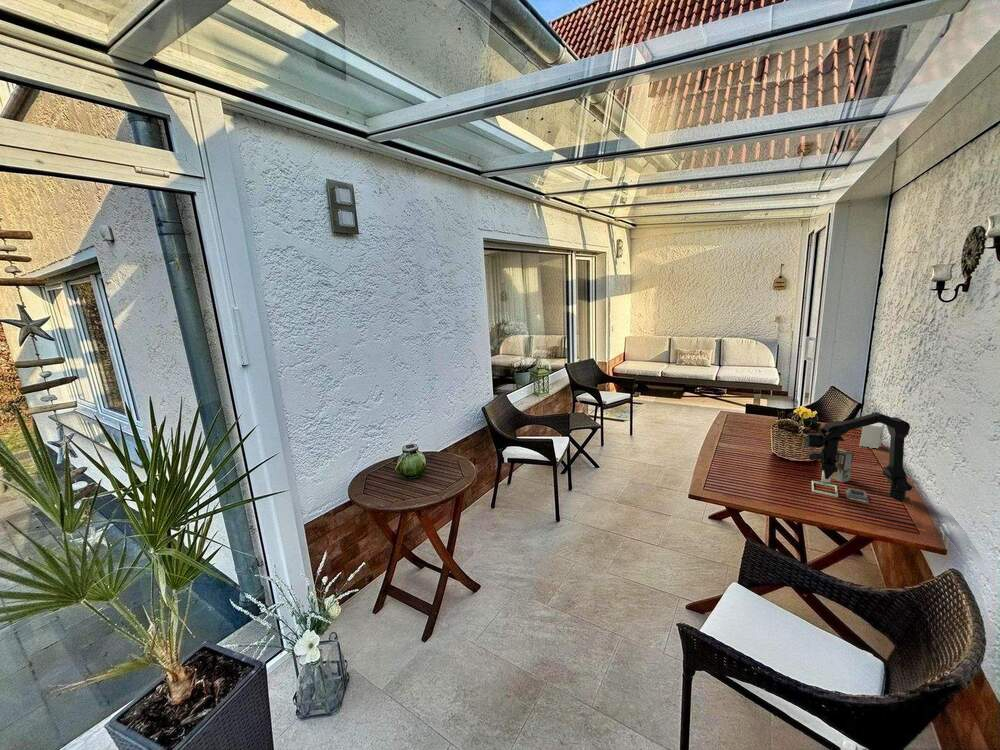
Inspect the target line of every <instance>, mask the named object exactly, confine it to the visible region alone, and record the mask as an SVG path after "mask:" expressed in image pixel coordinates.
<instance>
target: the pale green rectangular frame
mask: <svg viewBox="0 0 1000 750" xmlns="http://www.w3.org/2000/svg"><path fill="white" fill-rule="evenodd" d="M815 484H816V485H821V486H826V487H831V488H834V491H835V492H834V493H830V492H826V491H821V490H817V489H815V486H814V485H815ZM838 491H839V490H838V487H837V484H836V485H835V484H831V483H830V484H824V483H822V482H821V481H815V480H811V492H812V493H815V494H821V495H824V496H829V497H835V498H839V492H838Z"/></svg>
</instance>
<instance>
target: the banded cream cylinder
mask: <svg viewBox="0 0 1000 750" xmlns="http://www.w3.org/2000/svg"><path fill="white" fill-rule="evenodd" d="M821 470H822V469H821ZM831 479H832V478H831V476H830V477H829V479H825V473H824V470H822V473H821V479H820V482H822V483H824V484H831Z"/></svg>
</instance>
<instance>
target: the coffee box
mask: <svg viewBox="0 0 1000 750" xmlns="http://www.w3.org/2000/svg"><path fill="white" fill-rule="evenodd" d="M854 454H855V453H854V452H851V451H849V450H845V449H843V448H840V447H838V455H837V463H835V464H836V465H837V466H838V472H834V473H833V474H832V475H831V479H833V480H835V481H837V482H840V483H845V482H846V483H847V482H849V481H850V480H851V475H852V473H851V472H852V466H853V460H854Z"/></svg>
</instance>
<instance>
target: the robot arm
mask: <svg viewBox="0 0 1000 750" xmlns="http://www.w3.org/2000/svg"><path fill="white" fill-rule="evenodd" d="M875 423H882V424H884V426H885V425H886V427H887V432H888V433H889V435H890V438H889V439H890V443H889V457H888V458H889V460H888V461H889V463H888V465H887V466H883V467H882V469H883V472H882V473H881V474H882V475H883V476H884V478H885V479H886V480H887V482H888V483H889V484H890V486H889V487H890V488H889V492H888V496H889V497H891V498H892V499H894V500H896V501H897V500H898V501H903V500H906V497H907V492H910V491H912V490H913V488H914V487H913V486H912V484H910V483H909V482H908V479H907V478H908V477H907V473H906V470H905V469H904V452H905V439H906V437H907V436H908V435H909V433H910V429H911V425H910V423H909V422H907V421H906V420H904V419H902V418H900V417H897V416H893V417H892V416H888V415H886V414H883V413H880V412H878V411H877V412H872V413H869V414H866V415H862V416H859V417H855V418H851V419H847V420H841V421H840V420H839V421H837V420H835V421H829V422H826V423H825V424H824V425H823V427H822V428H821V429H820V430H818V432H817V433H812V432H811V433H810V432H808V433H807V434H806V435H805V438H804V445H805V447H806V448H821V450H820V449H819V450H809V451H807V456H808V459H809V460H810V461H815V460H819V462H820V463H821V465H820V469H821V470H824V473H825V479H829V477H830V476H831V475H832V474H833V473H834V472H838V466H837V465H836V464H835V463H837V455H838V448H839V445H840V442H845V441H846V440H845V439H844V438H843V437H842V436H843V435H846V434H847V433H849V432H850V431H852V430H856V429H861V428H863V427H864V426H868V425H872V424H875Z"/></svg>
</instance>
